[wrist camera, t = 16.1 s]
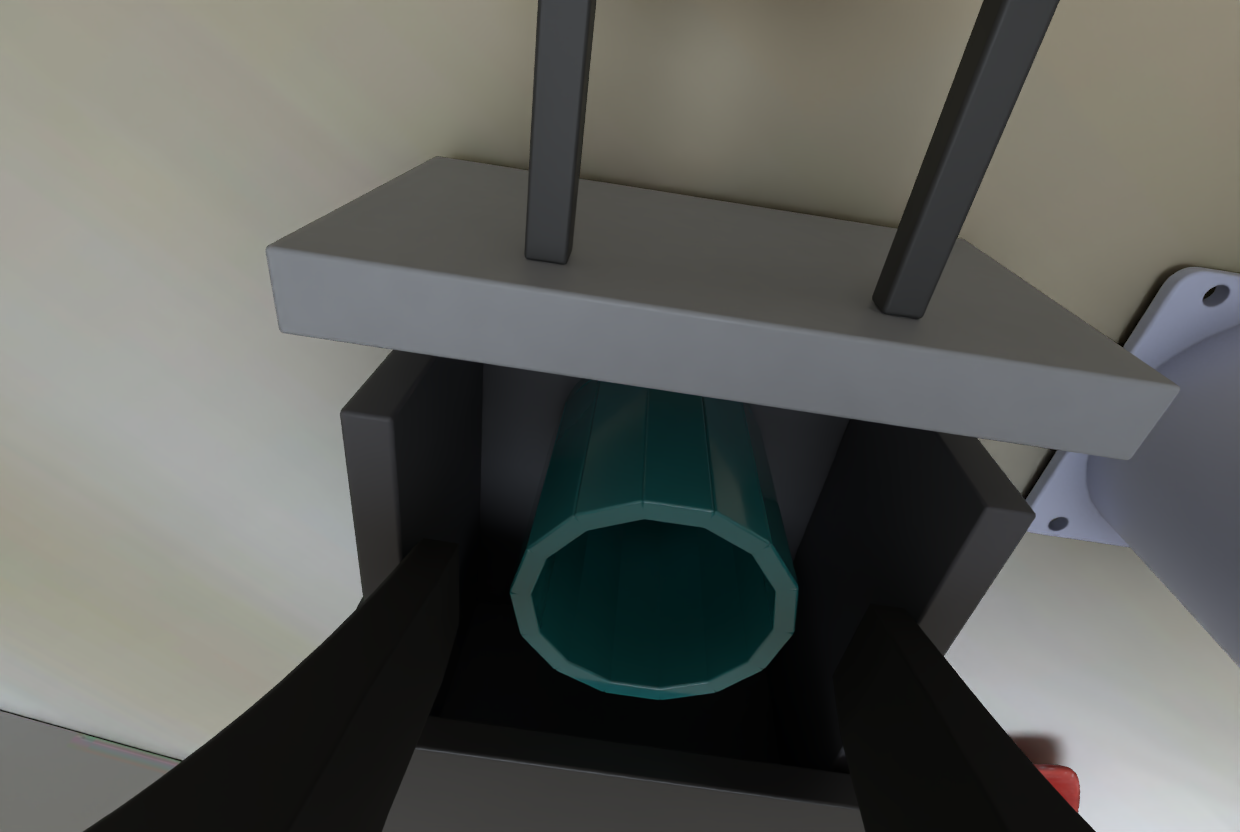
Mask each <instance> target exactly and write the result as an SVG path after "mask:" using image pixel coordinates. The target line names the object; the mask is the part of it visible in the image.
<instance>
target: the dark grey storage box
mask: <svg viewBox="0 0 1240 832" xmlns="http://www.w3.org/2000/svg"><path fill="white" fill-rule="evenodd" d="M363 602H364V600H363V597H362V599H361V601H360V603H359V605H358V607H359V606H360V605H361V604H362V603H363ZM358 607H357V608H358ZM382 832H865V829H864V825H863V821H862V817H861V813H860V810H859V806H858V802H857V798H856V795H855V791H854V787H853V783H852V779H851V775H850V774H847V773H840V772H833V771H826V770H819V769H811V768H804V767H797V766H790V765H783V764H776V763H768V762H761V761H754V760H747V759H740V758H732V757H725V756H718V755H711V754H704V753H697V752H689V751H682V750H675V749H668V748H661V747H654V746H646V745H639V744H632V743H625V742H618V741H610V740H603V739H596V738H589V737H582V736H575V735H567V734H560V733H553V732H546V731H539V730H532V729H524V728H517V727H510V726H503V725H496V724H488V723H481V722H474V721H467V720H460V719H453V718H445V717H438V716H431V715H429V716H428V718H427V721H426V723H425V726H424V728H423V731H422V733H421V735H420V738H419V740H418V743H417V745H416V748H415V750H414V753H413V755H412V758H411V760H410V762H409V765H408V767H407V770H406V772H405V775H404V777H403V780H402V782H401V785H400V787H399V789H398V792H397V794H396V797H395V799H394V802H393V804H392V807H391V809H390V811H389V814H388V817H387V819H386V822H385V825H384V828H383V830H382Z"/></svg>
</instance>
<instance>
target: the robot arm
mask: <svg viewBox="0 0 1240 832" xmlns="http://www.w3.org/2000/svg"><path fill="white" fill-rule="evenodd" d="M1215 286H1216V289H1215V291H1214V292H1213V293H1212V294H1211V295H1210V296H1209V297H1208V298H1206V299H1204V300H1203V297H1204V295H1205V293H1206V292H1207V291H1208V290H1209V289H1211V288H1213V287H1215ZM1123 348H1124V349H1126V350H1127V351H1129V352H1130V353H1131V354H1133V355H1134V356H1136V357H1137V358H1139V359H1140V360H1142V361H1143V362H1145V363H1146V364H1148V365H1149V366H1150V367H1152V368H1153V369H1155V370H1156V371H1158V372H1159V373H1161V374H1162V375H1164V376H1165V377H1167V378H1168V379H1170V380H1171V381H1172V382H1174V383H1175V384H1177V385H1178V386H1179V387H1180V392H1179V393H1178V395H1177V396H1176V397H1175V399H1174V400H1173V401H1172V403H1171V404H1170V406H1169V407H1168V408H1167V410H1166V411H1165V413H1164V414H1163V415H1162V417H1161V418H1160V419H1159V421H1158V422H1157V424H1156V425H1155V426H1154V428H1153V429H1152V431H1151V432H1150V433H1149V435H1148V436H1147V437H1146V439H1145V440H1144V442H1143V443H1142V444H1141V446H1140V447H1139V449H1138V450H1137V451H1136V453H1135V454H1134V455H1133V457H1132V458H1131V459H1129V460H1121V459H1115V458H1108V457H1101V456H1095V455H1088V454H1082V453H1075V452H1068V451H1062V450H1057V451H1056V453H1055V455H1054V456H1053V458H1052V459H1051V461H1050V462H1049V464H1048V466H1047V467H1046V469H1045V470H1044V472H1043V473H1042V475H1041V477H1040V478H1039V480H1038V481H1037V483H1036V484H1035V486H1034V487H1033V489H1032V491H1031V492H1030V494H1029V495H1028V497H1027V498H1026V500H1025V501H1026V502H1027V503H1028V504H1029V506H1030V507H1031V508H1032V510H1033V511H1034V512H1035V513H1036V517H1035V519H1034V520H1033V522H1032V524H1031V525H1030V527H1029V528H1028V530H1027V531H1028V532H1031V533H1036V534H1043V535H1050V536H1056V537H1063V538H1070V539H1077V540H1083V541H1090V542H1097V543H1104V544H1110V545H1117V546H1124V547H1130V548H1131V549H1132V550H1133V551H1134V552H1135V553H1136V554H1137V555H1138V556H1139V557H1140V559H1141V560H1142V561H1143V562H1144V563H1145V564H1146V565H1147V566H1148V567H1149V568H1150V570H1151V571H1152V572H1153V573H1154V574H1155V575H1156V576H1157V577H1158V578H1159V579H1160V581H1161V582H1162V583H1163V584H1164V585H1165V586H1166V587H1167V588H1168V589H1169V590H1170V592H1171V593H1172V594H1173V595H1174V596H1175V597H1176V598H1177V599H1178V600H1179V601H1180V603H1181V604H1182V605H1183V606H1184V607H1185V608H1186V609H1187V610H1188V611H1189V612H1190V614H1191V615H1192V616H1193V617H1194V618H1195V619H1196V620H1197V621H1198V622H1199V623H1200V625H1201V626H1202V627H1203V628H1204V629H1205V630H1206V631H1207V632H1208V633H1209V635H1210V636H1211V637H1212V638H1213V639H1214V640H1215V641H1216V642H1217V643H1218V644H1219V646H1220V647H1221V648H1222V649H1223V650H1224V651H1225V652H1226V653H1227V654H1228V655H1229V657H1230V658H1231V659H1232V660H1233V661H1234V662H1235V663H1236V664H1237V665H1238V666H1239V668H1240V273H1234V272H1228V271H1222V270H1215V269H1209V268H1203V267H1187V268H1184V269H1181V270H1179V271H1177V272H1176V273H1174V274H1173V275H1171V276H1170V277H1169V278H1168V279H1167V280H1166V281H1165V282H1164V284H1163V285H1162V287H1161V288H1160V290H1159V291H1158V293H1157V294H1156V296H1155V298H1154V299H1153V301H1152V302H1151V304H1150V305H1149V307H1148V309H1147V310H1146V312H1145V313H1144V315H1143V316H1142V318H1141V320H1140V321H1139V323H1138V324H1137V326H1136V327H1135V329H1134V331H1133V332H1132V334H1131V335H1130V337H1129V338H1128V340H1127V342H1126V343H1125V345H1124V346H1123ZM1057 517H1058V518H1057ZM1055 518H1057V519H1056V520H1053V521H1051V520H1052V519H1055ZM458 626H459V543H453V542H446V541H439V540H433V539H426V538H424V539H422V540H420V541H419V542H417V544H416V545H415V546H414V547H413V548H412V549H411V551H410V552H409V553H408V554H407V555H406V556H405V558H404V559H403V560H402V561H401V562H400V563H399V564H398V566H397V567H396V568H395V569H394V570H393V571H392V572H391V573H390V574H389V576H388V577H387V578H386V579H385V580H384V581H383V582H382V583H381V584H380V585H379V586H378V587H377V588H376V589H375V591H374V592H373V593H372V594H371V595H370V596H369V597H368V598H367V599H366V600H365V601H364V602H363V603H362V604H361V605H360V606H359V607H358V608H357V609H356V610H355V611H354V612H353V613H352V614H351V615H350V616H349V617H348V618H347V619H346V620H345V621H344V622H343V623H342V624H341V625H340V626H339V627H338V628H337V629H336V630H335V631H334V632H333V633H332V634H331V635H330V636H329V637H328V638H327V639H326V640H325V641H324V642H323V643H322V644H321V645H320V646H319V647H318V648H317V649H315V650H314V651H313V652H312V653H311V654H310V655H309V656H308V657H307V658H306V659H305V660H303V661H302V662H301V663H300V664H299V665H298V666H297V667H296V668H295V669H294V670H293V671H291V672H290V673H289V674H288V675H287V676H286V677H285V678H284V679H283V680H282V681H280V682H279V683H278V684H277V685H276V686H275V687H274V688H273V689H271V690H270V691H269V692H268V693H267V694H266V695H264V696H263V697H262V698H261V699H260V700H259V701H257V702H256V703H255V704H254V705H253V706H251V707H250V708H249V709H248V710H247V711H245V712H244V713H243V714H242V715H241V716H239V717H238V718H237V719H236V720H234V721H233V722H232V723H231V724H229V725H228V726H227V727H226V728H224V729H223V730H222V731H221V732H219V733H218V734H217V735H216V736H214V737H213V738H212V739H211V740H209V741H208V742H207V743H206V744H204V745H203V746H202V747H200V748H199V749H198V750H196V751H195V752H194V753H192V754H191V755H190V756H188V757H187V758H186V759H184V760H183V761H182V762H180V763H179V764H178V765H176V766H175V767H174V768H172V769H171V770H170V771H168V772H167V773H166V774H164V775H163V776H162V777H160V778H159V779H158V780H156V781H155V782H154V783H152V784H151V785H149V786H148V787H147V788H145V789H144V790H142V791H141V792H140V793H138V794H137V795H136V796H134V797H133V798H131V799H130V800H128V801H127V802H126V803H124V804H123V805H121V806H120V807H119V808H117V809H116V810H114V811H113V812H111V813H110V814H108V815H107V816H105V817H104V818H102V819H101V820H99V821H98V822H96V823H95V824H93V825H92V826H90V827H89V828H87V829H86V830H84V831H83V832H382V830H383V828H384V825H385V822H386V819H387V817H388V814H389V811H390V809H391V807H392V804H393V802H394V799H395V797H396V794H397V792H398V789H399V787H400V785H401V782H402V780H403V777H404V775H405V772H406V770H407V767H408V765H409V762H410V760H411V758H412V755H413V753H414V750H415V748H416V745H417V743H418V740H419V738H420V735H421V733H422V731H423V728H424V726H425V723H426V721H427V718H428V716H429V713H430V711H431V708H432V706H433V703H434V701H435V698H436V696H437V693H438V691H439V688H440V686H441V683H442V681H443V678H444V674H445V671H446V668H447V664H448V661H449V657H450V654H451V651H452V647H453V643H454V640H455V636H456V633H457V629H458ZM832 677H833V685H834V693H835V701H836V709H837V716H838V722H839V729H840V736H841V740H842V744H843V748H844V752H845V756H846V760H847V764H848V768H849V772H850V775H851V779H852V783H853V787H854V791H855V795H856V798H857V802H858V806H859V810H860V813H861V817H862V821H863V825H864V829H865V832H1096V831H1095V830H1094V829H1093V828H1092V827H1091V826H1090V825H1089V824H1088V823H1087V822H1086V821H1085V820H1084V819H1083V818H1082V817H1081V816H1080V815H1079V814H1078V813H1077V812H1076V811H1075V810H1074V808H1073V807H1072V806H1071V805H1070V804H1069V803H1068V802H1067V801H1066V800H1065V799H1064V798H1063V796H1062V795H1061V794H1060V793H1059V792H1058V791H1057V790H1056V789H1055V788H1054V787H1053V785H1052V784H1051V783H1050V782H1049V781H1048V780H1047V779H1046V778H1045V777H1044V776H1043V774H1042V773H1041V772H1040V771H1039V770H1038V769H1037V768H1036V767H1035V766H1034V764H1033V763H1032V762H1031V761H1030V760H1029V759H1028V758H1027V756H1026V755H1025V754H1024V753H1023V752H1022V751H1021V750H1020V748H1019V747H1018V746H1017V745H1016V744H1015V743H1014V742H1013V740H1012V739H1011V738H1010V737H1009V736H1008V734H1007V733H1006V732H1005V731H1004V730H1003V729H1002V727H1001V726H1000V725H999V724H998V723H997V721H996V720H995V719H994V718H993V717H992V715H991V714H990V713H989V712H988V711H987V709H986V708H985V707H984V706H983V705H982V703H981V702H980V701H979V700H978V699H977V697H976V696H975V695H974V694H973V692H972V691H971V690H970V689H969V687H968V686H967V685H966V684H965V683H964V681H963V680H962V679H961V678H960V676H959V675H958V674H957V673H956V671H955V670H954V669H953V668H952V666H951V665H950V664H949V663H948V661H947V660H946V659H945V658H944V656H943V655H942V654H941V653H940V651H939V650H938V649H937V648H936V646H935V645H934V644H933V643H932V641H931V640H930V639H929V638H928V636H927V635H926V634H925V633H924V631H923V630H922V629H921V628H920V626H919V625H918V624H917V623H916V622H915V620H914V619H913V618H912V617H911V616H910V614H909V613H908V612H907V611H906V610H905V608H898V607H891V606H884V605H877V604H870V605H869V607H868V609H867V610H866V612H865V614H864V616H863V618H862V620H861V622H860V624H859V626H858V628H857V630H856V632H855V633H854V635H853V637H852V639H851V641H850V643H849V645H848V647H847V649H846V651H845V653H844V654H843V656H842V658H841V660H840V662H839V664H838V666H837V668H836V670H835V672H834V674H833V676H832Z"/></svg>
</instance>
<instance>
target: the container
mask: <svg viewBox="0 0 1240 832" xmlns="http://www.w3.org/2000/svg"><path fill="white" fill-rule="evenodd" d="M509 593H510V597H511V601H512V605H513V609H514V612H515V616H516V620H517V624H518V628H519V632H520V634H521V636H522V637H523V638H524V639H525V640H526V641H527V642H528V643H529V644H530V645H531V646H532V648H533V649H534V650H535V651H536V652H537V653H538V654H539V655H540V656H541V657H542V658H543V659H544V660H545V661H546V662H547V663H548V664H549V665H550V666H551V667H552V668H553V669H555V670H556V671H558V672H560V673H562V674H564V675H566V676H569V677H571V678H573V679H575V680H577V681H580V682H582V683H584V684H586V685H588V686H591V687H593V688H595V689H597V690H599V691H601V692H605V693H610V694H618V695H625V696H632V697H639V698H646V699H653V700H660V699H661V700H668V699H675V698H682V697H690V696H697V695H704V694H712V693H715V692H719V691H721V690H723V689H725V688H728V687H730V686H732V685H734V684H736V683H738V682H740V681H742V680H744V679H746V678H748V677H750V676H752V675H754V674H756V673H759V672H761V671H762V670H763V669H765V668H766V667H767V666H768V665H769V663H770V662H771V661H772V660H773V659H774V657H775V656H776V655H777V654H778V653H779V651H780V650H781V649H782V648H783V646H784V645H785V644H786V643H787V642H788V640H789V639H790V638H791V637H792V636H793V634H794V632H795V626H796V615H797V604H798V593H799V587H798V583H797V579H796V574H795V570H794V566H793V562H792V558H791V554H790V550H789V545H788V541H787V537H786V533H785V529H784V525H783V521H782V517H781V512H780V508H779V504H778V500H777V496H776V492H775V488H774V483H773V479H772V475H771V471H770V467H769V463H768V459H767V455H766V450H765V446H764V442H763V438H762V434H761V430H760V427H759V426H758V424H757V422H756V419H755V416H754V412H753V409H752V407H751V405H750V403H744V402H737V401H731V400H724V399H717V398H711V397H704V396H698V395H691V394H684V393H678V392H671V391H664V390H658V389H651V388H645V387H638V386H631V385H625V384H618V383H612V382H605V381H598V380H592V379H585V378H582V379H581V380H580V381H579V382H578V383H577V384H576V385H575V386H574V388H573V389H572V390H571V392H570V393H569V395H568V397H567V398H566V400H565V402H564V404H563V407H562V410H561V413H560V416H559V419H558V423H557V426H556V428H555V431H554V434H553V436H552V439H551V443H550V446H549V450H548V454H547V457H546V461H545V464H544V468H543V471H542V475H541V479H540V482H539V486H538V489H537V493H536V496H535V500H534V504H533V507H532V511H531V514H530V518H529V521H528V525H527V528H526V532H525V536H524V539H523V543H522V546H521V550H520V553H519V557H518V561H517V564H516V568H515V571H514V575H513V578H512V582H511V586H510V592H509Z"/></svg>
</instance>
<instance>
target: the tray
mask: <svg viewBox="0 0 1240 832" xmlns="http://www.w3.org/2000/svg"><path fill="white" fill-rule="evenodd" d="M180 762H181V761H178V760H174V759H171V758H167V757H163V756H160V755H156V754H153V753H149V752H145V751H142V750H138V749H135V748H131V747H128V746H124V745H120V744H117V743H113V742H110V741H106V740H103V739H99V738H95V737H92V736H88V735H85V734H81V733H78V732H74V731H70V730H67V729H63V728H60V727H56V726H53V725H49V724H45V723H42V722H38V721H35V720H31V719H27V718H24V717H20V716H17V715H13V714H10V713H6V712H2V711H0V832H83V831H84V830H86V829H87V828H89V827H90V826H92V825H93V824H95V823H96V822H98V821H99V820H101V819H102V818H104V817H105V816H107V815H108V814H110V813H111V812H113V811H114V810H116V809H117V808H119V807H120V806H121V805H123V804H124V803H126V802H127V801H128V800H130V799H131V798H133V797H134V796H136V795H137V794H138V793H140V792H141V791H142V790H144V789H145V788H147V787H148V786H149V785H151V784H152V783H154V782H155V781H156V780H158V779H159V778H160V777H162V776H163V775H164V774H166V773H167V772H168V771H170V770H171V769H172V768H174V767H175V766H176V765H178V764H179V763H180Z"/></svg>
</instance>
